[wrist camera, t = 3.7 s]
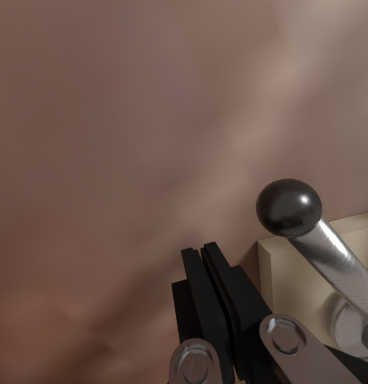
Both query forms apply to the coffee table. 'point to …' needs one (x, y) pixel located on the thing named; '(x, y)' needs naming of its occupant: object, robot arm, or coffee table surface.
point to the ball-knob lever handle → (321, 257)
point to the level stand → (307, 277)
